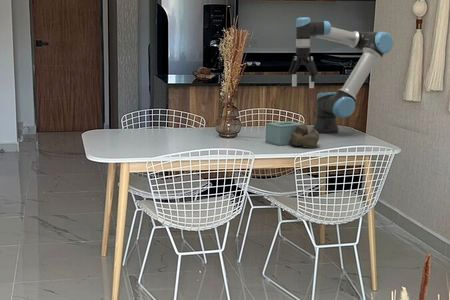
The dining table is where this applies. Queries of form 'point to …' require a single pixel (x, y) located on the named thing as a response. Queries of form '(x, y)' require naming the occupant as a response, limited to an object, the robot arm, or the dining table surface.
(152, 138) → the dining table surface
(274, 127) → the coin box
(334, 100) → the robot arm
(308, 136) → the decorative stone
